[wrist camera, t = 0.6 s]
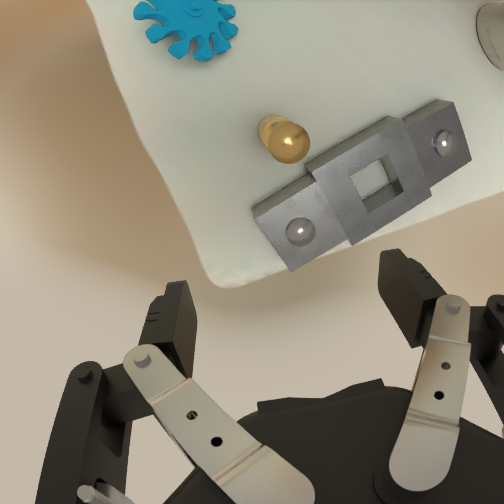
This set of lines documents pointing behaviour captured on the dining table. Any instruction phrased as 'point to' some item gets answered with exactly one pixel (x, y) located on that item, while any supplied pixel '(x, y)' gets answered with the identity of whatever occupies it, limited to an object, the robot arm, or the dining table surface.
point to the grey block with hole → (345, 193)
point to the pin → (284, 139)
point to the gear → (189, 25)
